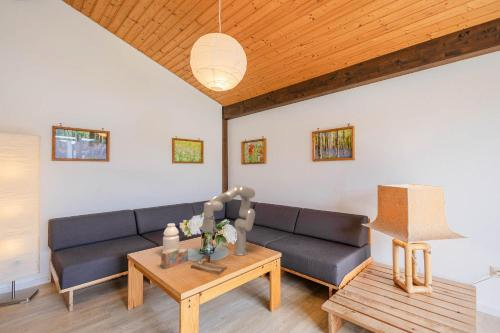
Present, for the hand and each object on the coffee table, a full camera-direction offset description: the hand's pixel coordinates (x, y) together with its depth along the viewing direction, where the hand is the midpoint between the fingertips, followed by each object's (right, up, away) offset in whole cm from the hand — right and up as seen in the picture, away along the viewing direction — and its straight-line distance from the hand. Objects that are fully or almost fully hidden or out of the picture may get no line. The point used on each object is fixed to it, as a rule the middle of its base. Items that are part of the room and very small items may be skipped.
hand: (208, 239), depth 189 cm
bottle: (-37, -21, +21) cm, 48 cm away
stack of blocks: (-28, -22, +3) cm, 35 cm away
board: (+1, -22, -5) cm, 22 cm away
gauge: (-4, -22, +2) cm, 22 cm away
